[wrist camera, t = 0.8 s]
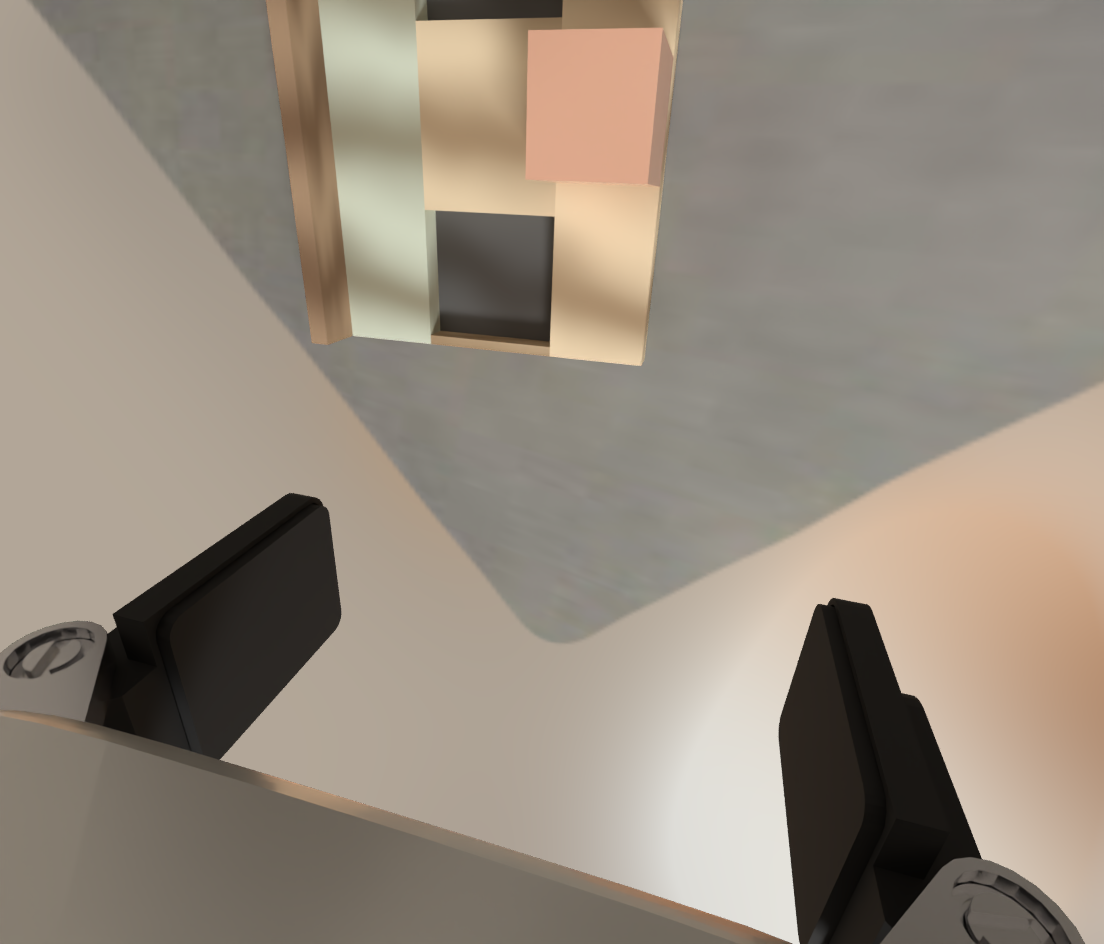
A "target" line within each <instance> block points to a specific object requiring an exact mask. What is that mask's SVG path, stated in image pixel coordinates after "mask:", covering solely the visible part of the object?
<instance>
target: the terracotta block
mask: <svg viewBox="0 0 1104 944" xmlns="http://www.w3.org/2000/svg"><path fill="white" fill-rule="evenodd" d="M672 67H673V55H672V52H671V49H670V46H669V44H668V41H667V38H666V35H665V32H664V30H663V28H617V29H565V30H528V64H527V120H526V176H525V179H526V180H535V181H544V182H553V183H573V184H598V185H624V186H650V187H660V181H661V172H662V162H663V153H664V143H665V134H666V124H667V115H668V105H669V96H670V86H671V77H672Z"/></svg>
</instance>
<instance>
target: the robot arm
mask: <svg viewBox="0 0 1104 944" xmlns="http://www.w3.org/2000/svg"><path fill="white" fill-rule="evenodd" d="M113 617H114V619H115V622H116V626H117V628H115V629H114V630H112V631H111V632H110V633H108V634H107V631H106V630H105V629H104V628H103V627H102V626H101V625H99V624H96V623H93V622H88V621H73V622H64V623H60V624H56V625H52V626H49V627H45V628H42V629H40V630H37V631H35V632H32V633H30V634H28V635H26V636H24V637H22V638H21V639H19V640H17V641H15V642H14V643H12V644H11V645H9V646H8V647H7V648H6V649H4V650H3V651H2V652H1V653H0V944H792V943H789V942H787V941H784V940H782V939H779V938H776V937H774V936H771V935H769V934H766V933H763V932H761V931H758V930H755V929H753V928H750V927H748V926H745V925H742V924H739V923H736V922H733V921H730V920H727V919H724V918H721V917H718V916H715V915H712V914H709V913H706V912H703V911H700V910H697V909H694V908H691V907H688V906H685V905H682V904H679V903H676V902H673V901H670V900H667V899H664V898H661V897H658V896H655V895H652V894H649V893H646V892H643V891H640V890H637V889H634V888H631V887H628V886H625V885H622V884H619V883H615V882H612V881H609V880H606V879H603V878H599V877H596V876H593V875H590V874H587V873H583V872H580V871H577V870H574V869H571V868H568V867H564V866H561V865H558V864H555V863H552V862H548V861H546V860H542V859H539V858H536V857H533V856H529V855H526V854H523V853H520V852H517V851H514V850H511V849H507V848H504V847H501V846H498V845H494V844H491V843H488V842H485V841H482V840H479V839H476V838H472V837H469V836H466V835H463V834H459V833H456V832H453V831H450V830H447V829H443V828H440V827H437V826H433V825H430V824H427V823H424V822H421V821H418V820H414V819H411V818H408V817H404V816H401V815H398V814H395V813H392V812H388V811H385V810H382V809H379V808H375V807H372V806H369V805H366V804H362V803H359V802H356V801H353V800H349V799H346V798H343V797H340V796H336V795H333V794H330V793H326V792H323V791H320V790H317V789H314V788H310V787H307V786H304V785H301V784H297V783H294V782H291V781H287V780H284V779H281V778H278V777H274V776H271V775H268V774H264V773H261V772H257V771H254V770H251V769H247V768H244V767H241V766H238V765H234V764H231V763H228V762H224V761H221V760H220V759H221V758H222V757H223V756H224V754H225V753H226V752H227V751H228V750H229V749H230V748H231V747H232V746H233V744H234V743H235V742H236V741H237V740H238V739H239V738H240V736H241V735H242V734H243V733H244V732H245V731H246V730H247V729H248V727H249V726H250V725H251V724H252V723H253V722H254V721H255V720H256V718H257V717H258V716H259V715H260V714H261V713H262V712H263V711H264V709H265V708H266V707H267V706H268V705H269V704H270V703H271V702H272V701H273V699H274V698H275V697H276V696H277V695H278V694H279V693H280V691H281V690H282V689H283V688H284V687H285V686H286V685H287V684H288V683H289V681H290V680H291V679H292V678H293V677H294V676H295V675H296V674H297V673H298V671H299V670H300V669H301V668H302V667H303V666H304V665H305V663H306V662H307V661H308V660H309V659H310V658H311V657H312V655H314V653H315V652H316V651H317V650H318V649H319V648H320V647H321V646H322V644H323V643H324V642H325V641H326V640H327V639H328V638H329V637H330V635H331V634H332V633H333V632H334V631H335V630H336V628H337V626H338V625H339V622H340V619H341V605H340V597H339V589H338V582H337V574H336V565H335V557H334V549H333V542H332V534H331V525H330V517H329V512H328V510H327V508H326V507H324V506H323V504H322V502H321V501H320V499H318V498H315V497H310V496H304V495H300V494H294V493H289V494H287V495H285V496H284V497H282V498H281V499H279V500H278V501H276V502H275V503H273V504H272V505H270V506H269V507H268V508H266V509H265V510H263V511H262V512H260V513H259V514H257V515H256V516H255V517H253V518H252V519H250V520H249V521H247V522H246V523H244V524H243V525H241V526H240V527H239V528H237V529H236V530H234V531H233V532H231V533H230V534H228V535H227V536H225V537H224V538H223V539H221V540H220V541H218V542H217V543H215V544H214V545H213V546H211V547H209V548H208V549H207V550H205V551H204V552H202V553H201V554H199V555H198V556H196V557H195V558H193V559H192V560H191V561H189V562H188V563H186V564H185V565H183V566H182V567H180V568H179V569H178V570H176V571H175V572H173V573H172V574H170V575H169V576H167V577H166V578H164V579H163V580H162V581H160V582H159V583H157V584H156V585H154V586H153V587H151V588H150V589H148V590H147V591H146V592H144V593H143V594H141V595H140V596H138V597H137V598H135V599H134V600H133V601H131V602H130V603H128V604H127V605H125V606H124V607H122V608H121V609H119V610H118V611H117V612H115V613H114V614H113ZM779 746H780V755H781V756H780V757H781V767H782V776H783V786H784V797H785V806H786V817H787V827H788V837H789V847H790V857H791V867H792V877H793V886H794V896H795V907H796V916H797V927H798V935H799V942H800V944H1085V943H1084V941H1083V939H1082V937H1081V936H1080V934H1079V932H1078V930H1077V928H1076V927H1075V926H1074V925H1073V923H1072V922H1071V921H1070V920H1069V918H1068V917H1067V916H1066V915H1065V914H1064V912H1063V911H1062V910H1061V909H1060V907H1059V906H1058V905H1057V904H1056V903H1055V902H1053V901H1052V900H1051V899H1050V898H1049V897H1048V896H1047V895H1046V894H1044V893H1043V892H1042V891H1041V890H1040V889H1039V888H1038V887H1037V886H1035V885H1034V884H1032V883H1031V882H1029V881H1028V880H1026V879H1025V878H1023V877H1022V876H1020V875H1019V874H1017V873H1016V872H1014V871H1012V870H1010V869H1008V868H1005V867H1003V866H1001V865H999V864H996V863H994V862H992V861H988V860H983V859H982V858H981V855H980V853H979V850H978V848H977V845H976V843H975V840H974V837H973V835H972V833H971V830H970V827H969V824H968V822H967V819H966V817H965V814H964V812H963V809H962V806H961V804H960V801H959V799H958V796H957V793H956V791H955V788H954V786H953V783H952V780H951V778H950V775H949V773H948V770H947V768H946V765H945V762H944V760H943V757H942V755H941V752H940V750H939V747H938V744H937V742H936V739H935V737H934V734H933V732H932V729H931V726H930V724H929V721H928V718H927V716H926V713H925V711H924V708H923V706H922V704H921V703H920V701H919V700H918V699H917V698H916V697H915V696H912V695H908V694H903V693H901V691H900V688H899V685H898V682H897V680H896V677H895V674H894V671H893V668H892V666H891V663H890V660H889V657H888V654H887V651H886V649H885V646H884V643H883V640H882V637H881V634H880V632H879V629H878V626H877V623H876V620H875V617H874V615H873V612H872V610H871V608H870V606H869V605H867V604H862V603H857V602H851V601H846V600H841V599H836V598H832V599H831V600H830V601H829V603H828V605H822V604H818V605H817V606H816V608H815V610H814V613H813V616H812V620H811V623H810V626H809V629H808V632H807V635H806V638H805V641H804V645H803V648H802V651H801V654H800V657H799V660H798V663H797V667H796V670H795V673H794V676H793V679H792V682H791V685H790V689H789V692H788V695H787V698H786V701H785V704H784V707H783V711H782V714H781V717H780V723H779Z"/></svg>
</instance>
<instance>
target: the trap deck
mask: <svg viewBox="0 0 1104 944" xmlns="http://www.w3.org/2000/svg"><path fill="white" fill-rule="evenodd" d="M682 4H683V0H266V5H267V12H268V20H269V27H270V34H271V42H272V49H273V57H274V64H275V72H276V79H277V87H278V94H279V102H280V109H281V116H282V124H283V131H284V139H285V146H286V154H287V161H288V169H289V176H290V183H291V191H292V198H293V206H294V213H295V221H296V228H297V236H298V243H299V250H300V258H301V265H302V273H303V280H304V288H305V295H306V303H307V310H308V317H309V325H310V332H311V340H312V343H316V344H325V345H329V344H331V343H334V342H337V341H340V340H342V339H345V338H348V337H351V336H360V337H370V338H379V339H389V340H398V341H408V342H418V343H427V344H437V345H446V346H456V347H465V348H475V349H484V350H494V351H503V352H513V353H523V354H532V355H542V356H551V357H561V358H570V359H580V360H589V361H599V362H608V363H618V364H628V365H637V366H641V365H642V363H643V361H644V359H645V349H646V340H647V331H648V321H649V312H650V303H651V293H652V284H653V275H654V265H655V256H656V247H657V237H658V228H659V219H660V209H661V200H662V191H663V181H664V172H665V163H666V153H667V144H668V135H669V125H670V116H671V107H672V97H673V88H674V79H675V69H676V60H677V51H678V41H679V32H680V23H681V13H682ZM617 28H663V30H664V32H665V35H666V38H667V41H668V44H669V46H670V49H671V52H672V55H673V67H672V77H671V86H670V96H669V105H668V115H667V124H666V134H665V143H664V153H663V162H662V172H661V181H660V187H650V186H624V185H598V184H573V183H553V182H544V181H535V180H526V179H525V176H526V120H527V64H528V30H565V29H617Z"/></svg>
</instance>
